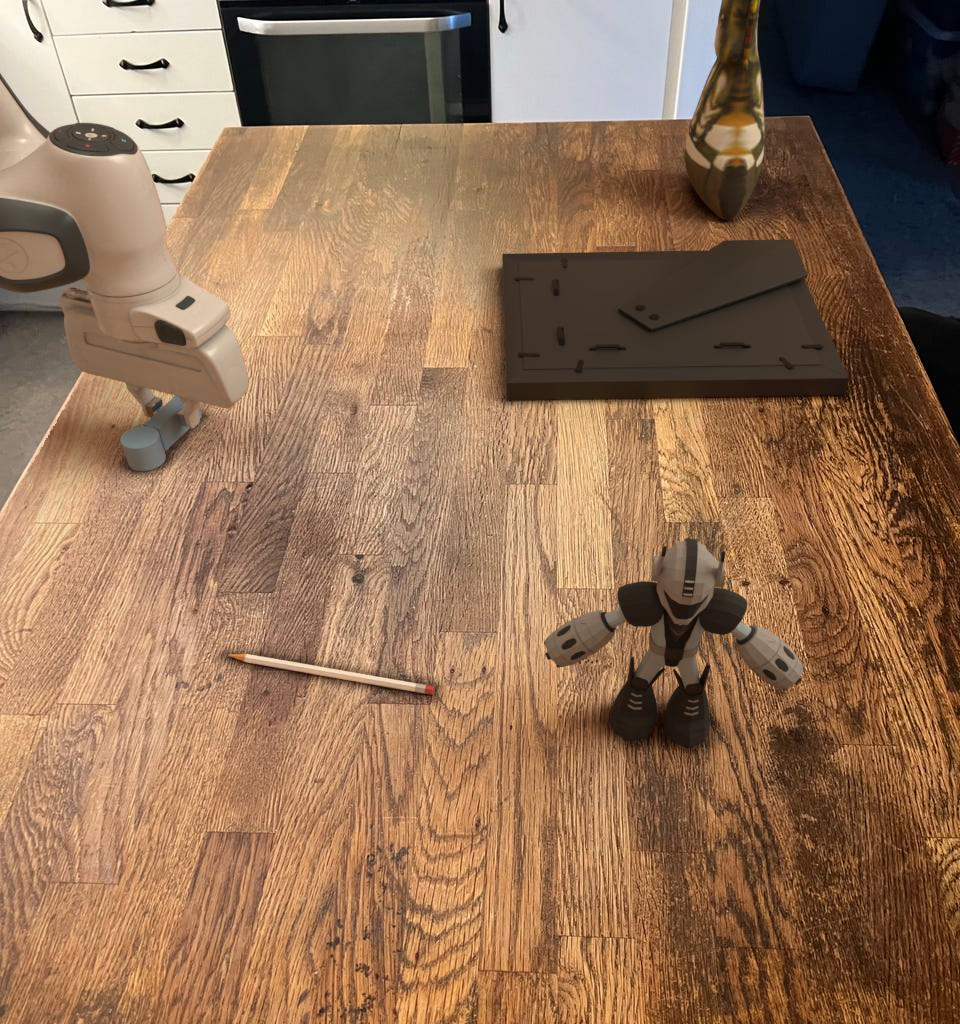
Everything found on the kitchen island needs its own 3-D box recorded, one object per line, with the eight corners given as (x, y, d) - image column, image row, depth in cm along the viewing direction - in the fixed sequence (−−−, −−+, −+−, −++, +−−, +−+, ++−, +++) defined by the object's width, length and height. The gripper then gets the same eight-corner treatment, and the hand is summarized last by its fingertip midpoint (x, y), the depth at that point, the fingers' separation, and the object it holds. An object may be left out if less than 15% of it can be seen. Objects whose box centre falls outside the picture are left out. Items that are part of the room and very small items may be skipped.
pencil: (432, 697, 84) (431, 691, 83) (226, 660, 87) (225, 655, 86) (434, 690, 84) (434, 684, 84) (230, 654, 87) (228, 649, 87)
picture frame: (787, 265, 133) (502, 270, 134) (793, 239, 131) (502, 244, 131) (844, 395, 113) (506, 400, 113) (852, 367, 110) (506, 373, 110)
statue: (766, 222, 142) (824, -73, 116) (691, 225, 142) (732, -70, 116) (740, 173, 153) (788, -105, 128) (670, 176, 153) (704, -102, 127)
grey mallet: (180, 410, 113) (173, 388, 110) (209, 418, 112) (204, 395, 109) (120, 466, 106) (112, 443, 104) (151, 475, 105) (143, 451, 103)
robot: (779, 711, 82) (840, 527, 67) (783, 758, 79) (847, 576, 64) (543, 686, 84) (552, 502, 69) (537, 731, 81) (545, 549, 66)
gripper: (34, 297, 99) (77, 414, 110) (206, 338, 94) (235, 457, 104) (75, 269, 103) (113, 384, 114) (242, 306, 98) (267, 424, 108)
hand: (173, 419), depth 109 cm, fingers open, 3 cm apart
